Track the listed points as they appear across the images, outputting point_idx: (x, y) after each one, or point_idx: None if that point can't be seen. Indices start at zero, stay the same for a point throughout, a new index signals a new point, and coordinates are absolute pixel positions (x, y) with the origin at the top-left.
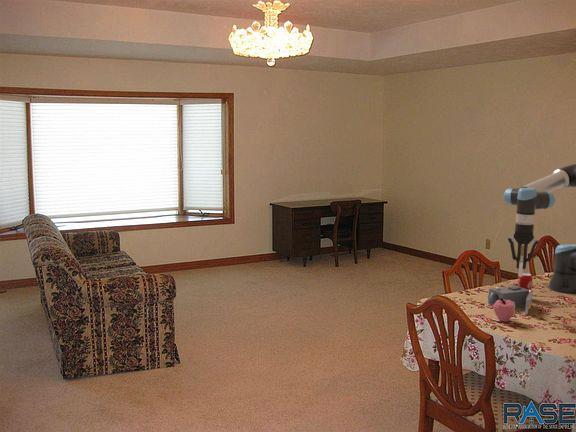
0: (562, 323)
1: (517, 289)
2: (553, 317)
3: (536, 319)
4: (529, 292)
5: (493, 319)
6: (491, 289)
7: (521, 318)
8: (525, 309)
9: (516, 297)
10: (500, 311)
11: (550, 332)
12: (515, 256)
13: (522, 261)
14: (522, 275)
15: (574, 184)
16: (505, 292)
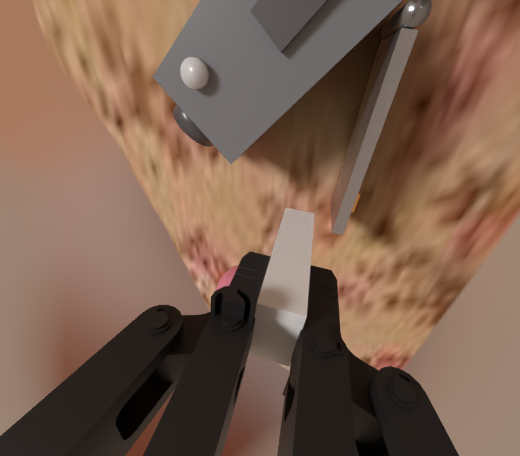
0: (448, 260)
1: (314, 15)
2: (445, 200)
3: (362, 239)
4: (387, 76)
5: (232, 265)
6: (167, 92)
7: (312, 241)
8: (331, 210)
9: (306, 92)
10: None
11: (371, 328)
12: (161, 354)
13: (287, 331)
14: (313, 215)
15: None
16: (240, 135)
